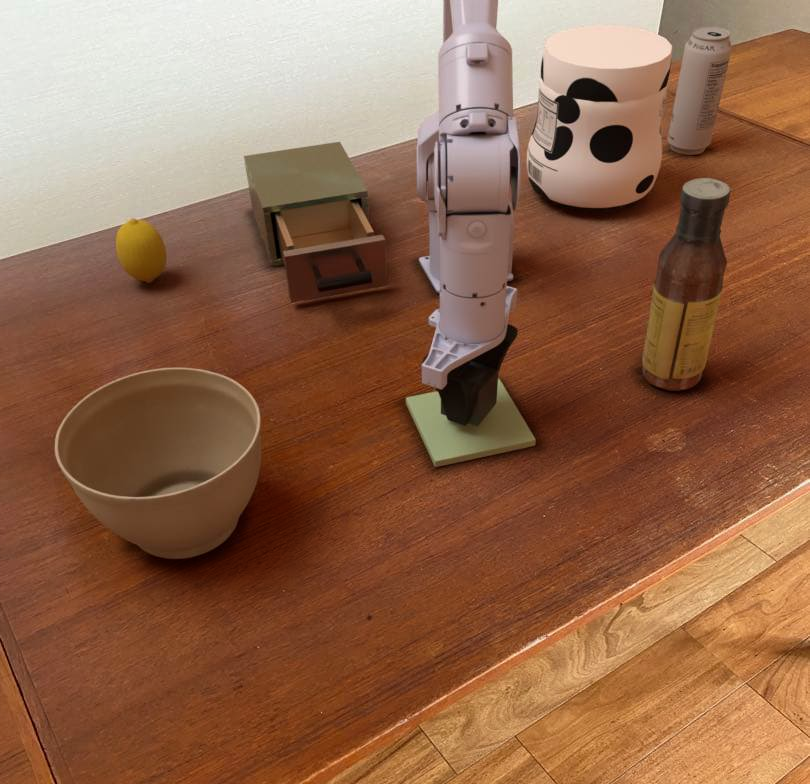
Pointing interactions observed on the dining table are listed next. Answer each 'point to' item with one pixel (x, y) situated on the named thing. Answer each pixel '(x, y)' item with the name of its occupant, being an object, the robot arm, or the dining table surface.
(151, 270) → the lemon
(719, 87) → the energy drink can
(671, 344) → the sauce bottle
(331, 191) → the olive box frame
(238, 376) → the dining table surface
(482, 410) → the block
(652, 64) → the milk container
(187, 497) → the planter bowl
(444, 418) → the plate
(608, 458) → the dining table surface
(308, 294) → the cabinet drawer
